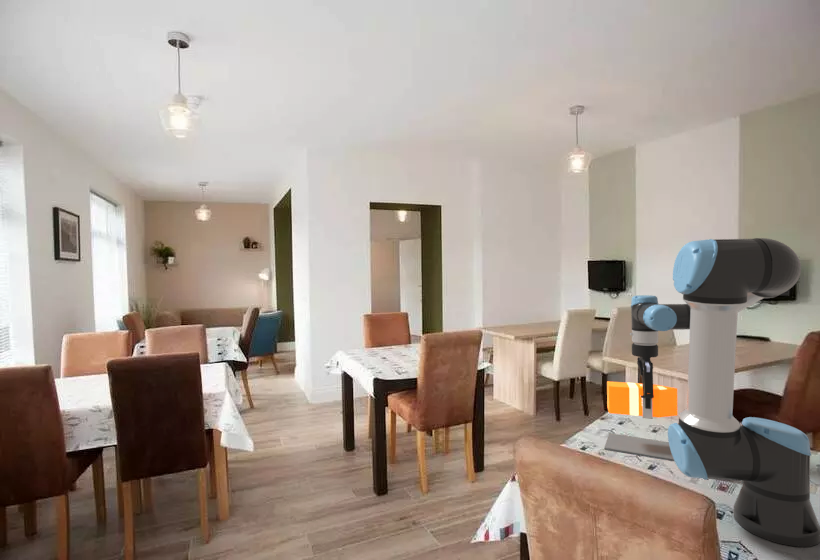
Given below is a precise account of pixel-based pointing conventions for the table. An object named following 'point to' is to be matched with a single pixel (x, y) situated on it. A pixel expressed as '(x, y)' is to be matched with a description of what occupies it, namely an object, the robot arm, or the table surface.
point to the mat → (639, 446)
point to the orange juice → (640, 399)
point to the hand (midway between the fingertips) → (645, 413)
